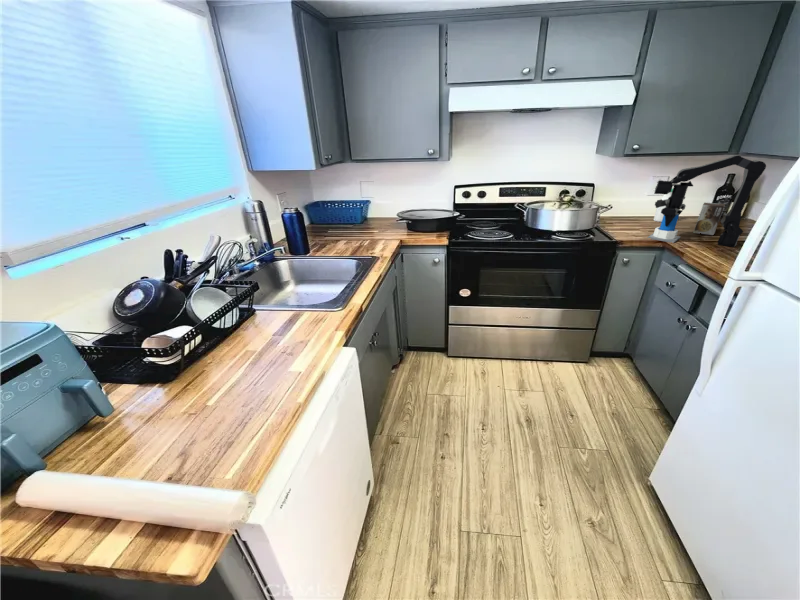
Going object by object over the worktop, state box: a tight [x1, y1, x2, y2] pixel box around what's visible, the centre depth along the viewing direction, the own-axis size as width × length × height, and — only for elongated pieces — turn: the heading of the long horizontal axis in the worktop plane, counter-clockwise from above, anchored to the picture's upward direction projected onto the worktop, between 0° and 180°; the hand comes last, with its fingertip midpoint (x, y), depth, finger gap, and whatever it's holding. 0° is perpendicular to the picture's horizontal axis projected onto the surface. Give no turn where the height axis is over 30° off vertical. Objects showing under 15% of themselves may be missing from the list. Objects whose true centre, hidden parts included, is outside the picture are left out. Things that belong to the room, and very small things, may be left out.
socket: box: [647, 226, 681, 244], centre depth 183 cm, size 12×12×5 cm
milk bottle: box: [653, 188, 673, 223], centre depth 213 cm, size 8×8×20 cm
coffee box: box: [693, 202, 726, 236], centre depth 188 cm, size 9×6×16 cm
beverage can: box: [659, 213, 680, 231], centre depth 181 cm, size 6×6×12 cm
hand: (668, 224), depth 181 cm, fingers closed on beverage can, 6 cm apart
